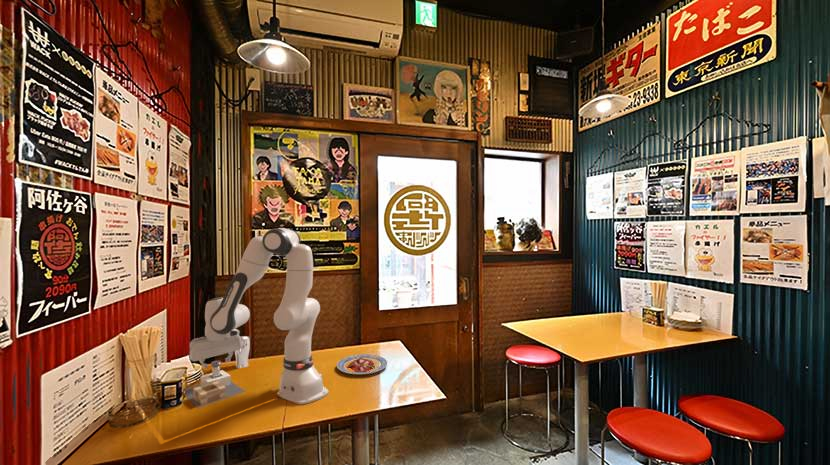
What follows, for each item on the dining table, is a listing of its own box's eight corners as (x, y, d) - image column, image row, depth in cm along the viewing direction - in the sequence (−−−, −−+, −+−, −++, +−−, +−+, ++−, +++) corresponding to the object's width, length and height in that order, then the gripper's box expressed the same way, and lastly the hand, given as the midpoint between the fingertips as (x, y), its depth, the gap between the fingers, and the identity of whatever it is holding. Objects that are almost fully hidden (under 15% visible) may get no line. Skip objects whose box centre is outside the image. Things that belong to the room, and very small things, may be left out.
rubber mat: (245, 393, 144) (245, 391, 144) (197, 410, 130) (197, 407, 130) (224, 378, 158) (224, 376, 158) (179, 392, 144) (179, 390, 144)
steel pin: (222, 384, 150) (222, 362, 150) (212, 387, 147) (212, 364, 147) (218, 381, 153) (219, 359, 153) (209, 384, 149) (209, 362, 150)
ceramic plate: (325, 369, 171) (326, 363, 171) (361, 354, 192) (361, 349, 192) (363, 383, 156) (363, 376, 156) (397, 365, 177) (397, 359, 177)
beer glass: (243, 370, 167) (243, 340, 167) (231, 369, 169) (231, 339, 169) (252, 365, 174) (252, 336, 174) (240, 364, 175) (241, 335, 175)
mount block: (225, 397, 139) (225, 387, 139) (201, 405, 132) (201, 395, 132) (217, 390, 145) (217, 380, 145) (193, 397, 138) (193, 388, 138)
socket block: (230, 384, 150) (230, 375, 150) (208, 391, 143) (208, 382, 143) (222, 378, 156) (222, 370, 156) (200, 385, 149) (200, 376, 149)
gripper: (192, 341, 140) (192, 374, 140) (243, 330, 155) (243, 360, 155) (187, 338, 144) (187, 370, 144) (237, 327, 159) (237, 357, 159)
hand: (216, 365), depth 150 cm, fingers open, 8 cm apart
